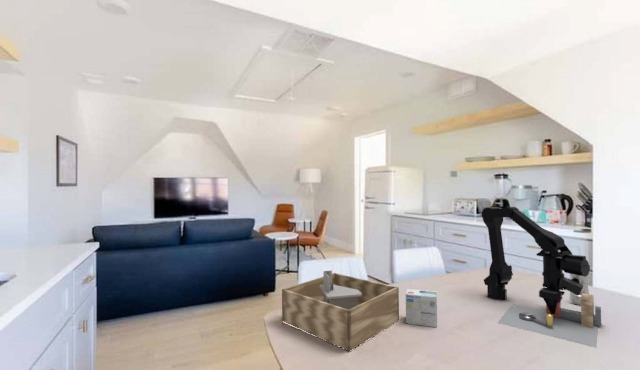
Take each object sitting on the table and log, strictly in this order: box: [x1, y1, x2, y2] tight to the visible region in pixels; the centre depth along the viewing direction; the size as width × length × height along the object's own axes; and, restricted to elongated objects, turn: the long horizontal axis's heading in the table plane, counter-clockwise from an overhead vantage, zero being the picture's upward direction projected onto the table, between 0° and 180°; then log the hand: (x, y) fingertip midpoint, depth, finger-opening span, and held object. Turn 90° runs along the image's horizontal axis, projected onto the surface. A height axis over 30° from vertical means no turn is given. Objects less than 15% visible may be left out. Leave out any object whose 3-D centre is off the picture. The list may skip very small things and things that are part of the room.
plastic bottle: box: [568, 254, 590, 307], centre depth 127 cm, size 6×7×20 cm
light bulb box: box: [405, 288, 438, 328], centre depth 113 cm, size 11×7×11 cm, turn 71°
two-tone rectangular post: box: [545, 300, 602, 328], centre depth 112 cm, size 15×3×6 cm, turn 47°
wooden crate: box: [281, 272, 400, 352], centre depth 114 cm, size 31×30×12 cm
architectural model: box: [320, 270, 362, 310], centre depth 113 cm, size 23×24×18 cm
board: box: [497, 303, 599, 349], centre depth 110 cm, size 26×24×1 cm
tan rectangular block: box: [580, 293, 595, 328], centre depth 109 cm, size 3×8×9 cm, turn 137°
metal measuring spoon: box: [519, 313, 553, 328], centre depth 110 cm, size 5×11×4 cm, turn 19°
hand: (553, 312), depth 115 cm, fingers closed on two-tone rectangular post, 3 cm apart
